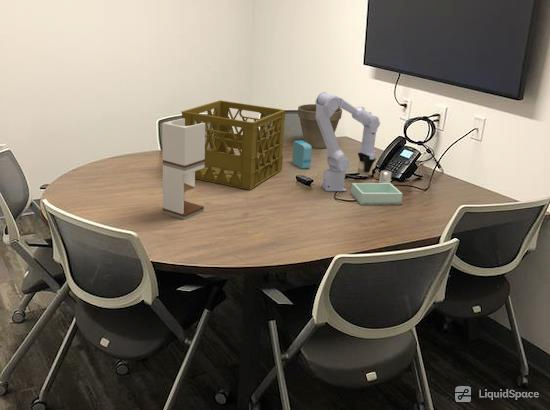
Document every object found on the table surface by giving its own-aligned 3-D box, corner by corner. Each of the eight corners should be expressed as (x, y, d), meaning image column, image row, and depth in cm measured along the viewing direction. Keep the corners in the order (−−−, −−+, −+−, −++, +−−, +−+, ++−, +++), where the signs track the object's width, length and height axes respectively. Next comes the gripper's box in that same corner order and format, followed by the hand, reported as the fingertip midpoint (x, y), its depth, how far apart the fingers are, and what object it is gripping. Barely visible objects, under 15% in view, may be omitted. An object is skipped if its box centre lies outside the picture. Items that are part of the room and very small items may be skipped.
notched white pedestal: (184, 219, 214) (185, 128, 202) (163, 213, 219) (162, 122, 207) (203, 211, 223) (205, 123, 211) (182, 205, 228) (183, 118, 216)
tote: (360, 205, 241) (362, 193, 239) (350, 193, 254) (351, 183, 252) (401, 204, 244) (402, 193, 243) (389, 193, 257) (390, 183, 255)
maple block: (361, 174, 261) (362, 164, 259) (357, 171, 265) (358, 161, 264) (371, 175, 262) (372, 164, 260) (367, 171, 266) (369, 161, 265)
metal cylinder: (380, 188, 264) (382, 173, 261) (377, 184, 268) (379, 170, 266) (391, 188, 265) (393, 173, 262) (387, 184, 269) (389, 170, 267)
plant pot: (292, 148, 321) (295, 109, 314) (298, 138, 344) (300, 102, 336) (336, 152, 318) (340, 114, 310) (339, 142, 341) (343, 106, 333)
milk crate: (180, 176, 262) (180, 111, 251) (218, 158, 293) (219, 100, 282) (250, 191, 249) (253, 123, 239) (281, 170, 280) (286, 110, 270)
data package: (310, 169, 285) (312, 145, 281) (302, 169, 284) (303, 146, 280) (299, 162, 296) (301, 139, 291) (291, 162, 294) (293, 140, 290)
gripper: (382, 145, 252) (378, 175, 257) (371, 137, 266) (367, 165, 270) (367, 145, 251) (363, 174, 256) (356, 137, 264) (353, 165, 269)
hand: (364, 170), depth 263 cm, fingers closed on maple block, 5 cm apart
